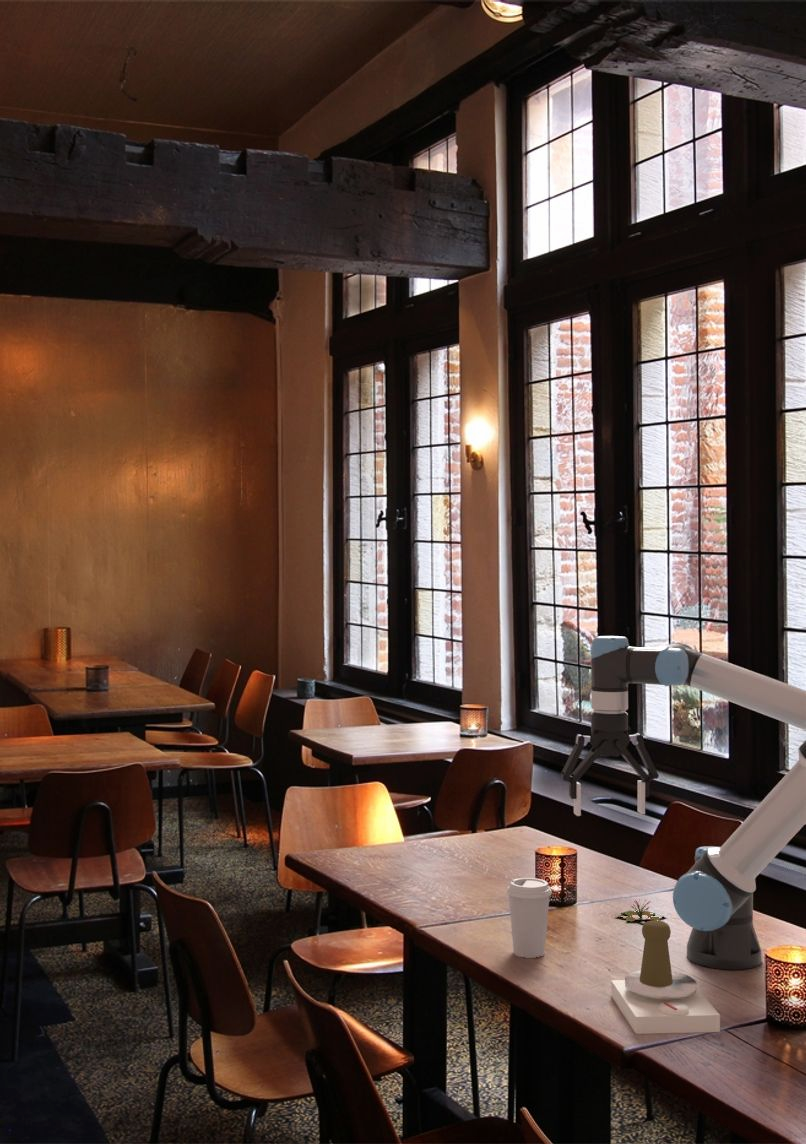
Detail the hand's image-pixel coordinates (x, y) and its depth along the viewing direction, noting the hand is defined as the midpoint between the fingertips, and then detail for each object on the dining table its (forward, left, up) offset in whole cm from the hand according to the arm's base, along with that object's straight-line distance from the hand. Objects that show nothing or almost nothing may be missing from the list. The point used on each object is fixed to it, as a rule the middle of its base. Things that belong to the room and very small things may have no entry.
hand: (609, 813), depth 256 cm
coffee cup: (+16, -7, -31) cm, 35 cm away
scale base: (-3, +29, -31) cm, 43 cm away
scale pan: (-3, +27, -27) cm, 38 cm away
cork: (-3, +27, -26) cm, 38 cm away
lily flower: (-15, -31, -31) cm, 47 cm away
